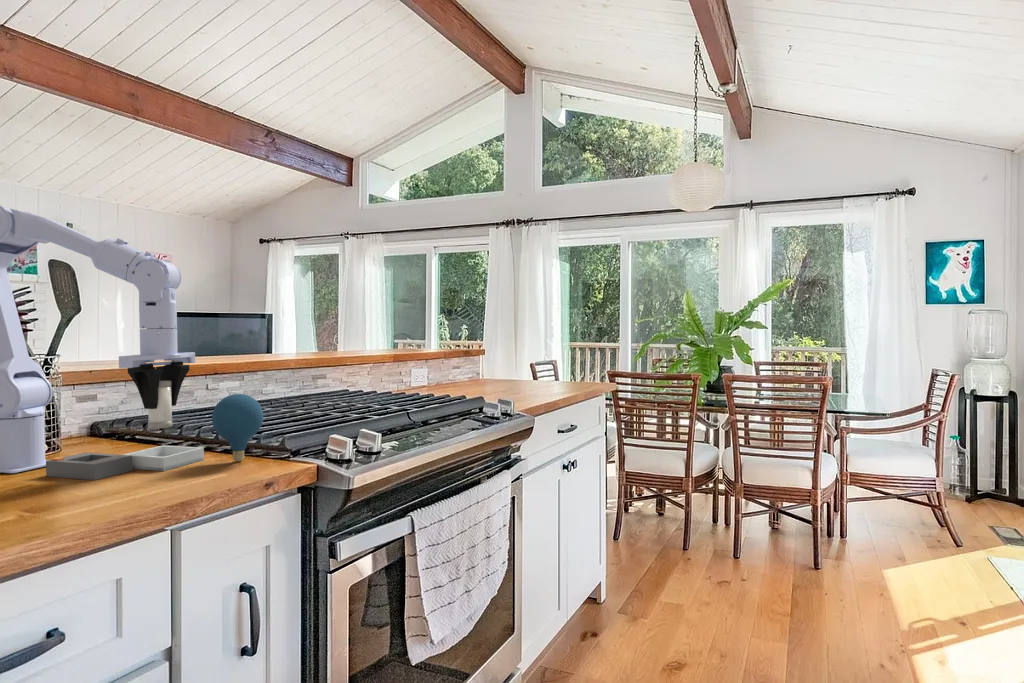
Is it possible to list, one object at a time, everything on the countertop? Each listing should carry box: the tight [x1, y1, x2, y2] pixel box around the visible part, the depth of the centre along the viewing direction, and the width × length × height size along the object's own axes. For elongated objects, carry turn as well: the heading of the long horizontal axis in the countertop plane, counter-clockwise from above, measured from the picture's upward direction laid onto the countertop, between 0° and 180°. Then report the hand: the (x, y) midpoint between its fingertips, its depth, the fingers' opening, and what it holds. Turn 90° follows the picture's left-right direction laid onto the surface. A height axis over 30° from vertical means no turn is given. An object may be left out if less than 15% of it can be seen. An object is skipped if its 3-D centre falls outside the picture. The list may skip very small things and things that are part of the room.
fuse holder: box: [45, 452, 133, 481], centre depth 105 cm, size 10×7×3 cm
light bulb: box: [211, 393, 264, 463], centre depth 114 cm, size 8×8×12 cm
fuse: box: [147, 380, 173, 430], centre depth 112 cm, size 4×4×8 cm
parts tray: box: [122, 444, 205, 472], centre depth 112 cm, size 9×9×2 cm
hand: (160, 407), depth 112 cm, fingers closed on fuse, 4 cm apart
